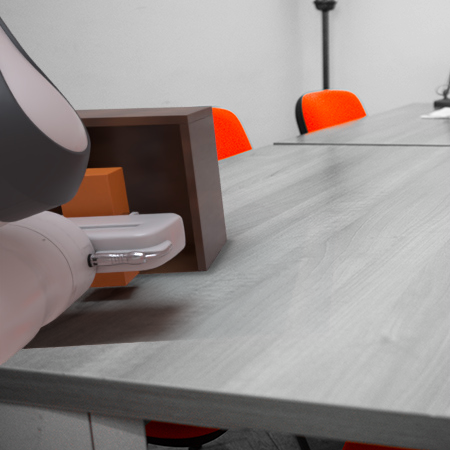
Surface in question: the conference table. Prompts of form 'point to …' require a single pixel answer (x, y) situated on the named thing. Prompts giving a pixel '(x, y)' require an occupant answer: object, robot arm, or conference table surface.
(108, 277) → the block
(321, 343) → the conference table surface
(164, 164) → the cubby
